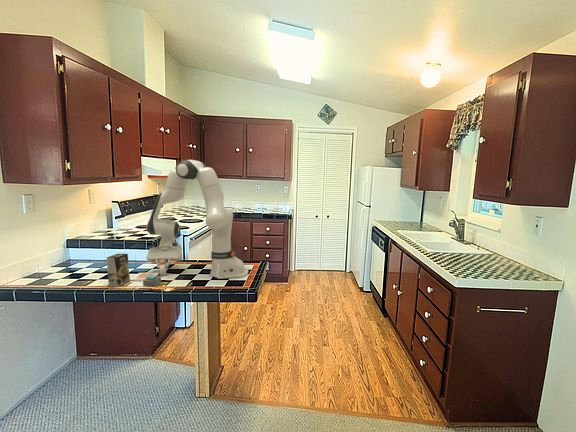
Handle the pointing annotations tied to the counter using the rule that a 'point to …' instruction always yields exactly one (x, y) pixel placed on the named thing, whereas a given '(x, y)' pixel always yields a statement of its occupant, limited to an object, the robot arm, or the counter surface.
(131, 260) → the counter surface
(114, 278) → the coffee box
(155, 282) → the button housing
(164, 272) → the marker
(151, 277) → the button
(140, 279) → the picture board
